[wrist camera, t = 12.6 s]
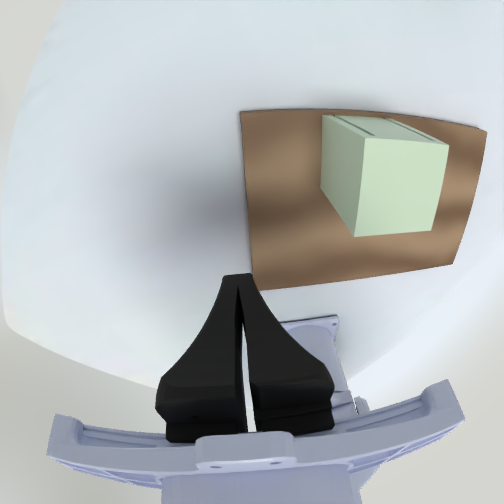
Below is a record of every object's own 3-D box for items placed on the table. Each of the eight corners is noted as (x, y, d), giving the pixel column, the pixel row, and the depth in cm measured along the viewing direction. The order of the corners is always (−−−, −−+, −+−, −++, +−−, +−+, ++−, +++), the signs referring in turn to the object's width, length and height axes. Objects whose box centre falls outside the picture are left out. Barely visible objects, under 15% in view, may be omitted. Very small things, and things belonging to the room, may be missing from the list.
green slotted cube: (384, 185, 20) (430, 230, 15) (320, 187, 20) (353, 237, 15) (391, 118, 17) (449, 145, 12) (322, 114, 17) (364, 137, 12)
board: (447, 257, 27) (452, 264, 26) (253, 282, 26) (254, 291, 25) (478, 128, 18) (487, 132, 17) (240, 111, 18) (240, 113, 17)
